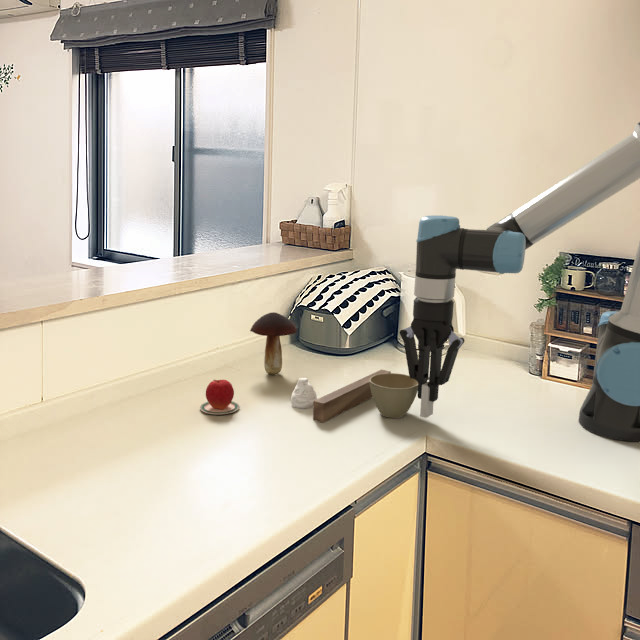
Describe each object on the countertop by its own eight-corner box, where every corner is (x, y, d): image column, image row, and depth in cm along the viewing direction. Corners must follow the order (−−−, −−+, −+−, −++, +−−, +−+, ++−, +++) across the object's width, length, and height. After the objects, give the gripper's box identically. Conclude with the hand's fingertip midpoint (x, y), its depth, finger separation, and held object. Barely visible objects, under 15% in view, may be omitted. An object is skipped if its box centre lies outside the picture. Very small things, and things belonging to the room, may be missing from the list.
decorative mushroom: (246, 369, 171) (245, 308, 167) (290, 365, 174) (290, 306, 170) (255, 383, 160) (255, 319, 157) (302, 379, 164) (303, 316, 160)
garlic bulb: (286, 379, 145) (298, 372, 150) (286, 406, 147) (298, 398, 152) (310, 383, 143) (321, 376, 148) (310, 411, 145) (321, 403, 149)
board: (389, 388, 159) (390, 371, 158) (323, 422, 138) (323, 403, 138) (380, 386, 160) (381, 369, 159) (313, 419, 140) (313, 400, 139)
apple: (193, 413, 142) (192, 382, 141) (210, 400, 150) (210, 371, 148) (229, 418, 140) (229, 387, 138) (245, 405, 147) (245, 375, 146)
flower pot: (415, 425, 138) (417, 390, 137) (365, 420, 140) (366, 386, 139) (419, 407, 148) (421, 374, 146) (371, 403, 150) (373, 370, 148)
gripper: (473, 299, 133) (464, 417, 139) (412, 290, 140) (406, 402, 146) (457, 306, 127) (448, 428, 133) (394, 296, 134) (388, 413, 140)
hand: (426, 415), depth 139 cm, fingers closed
